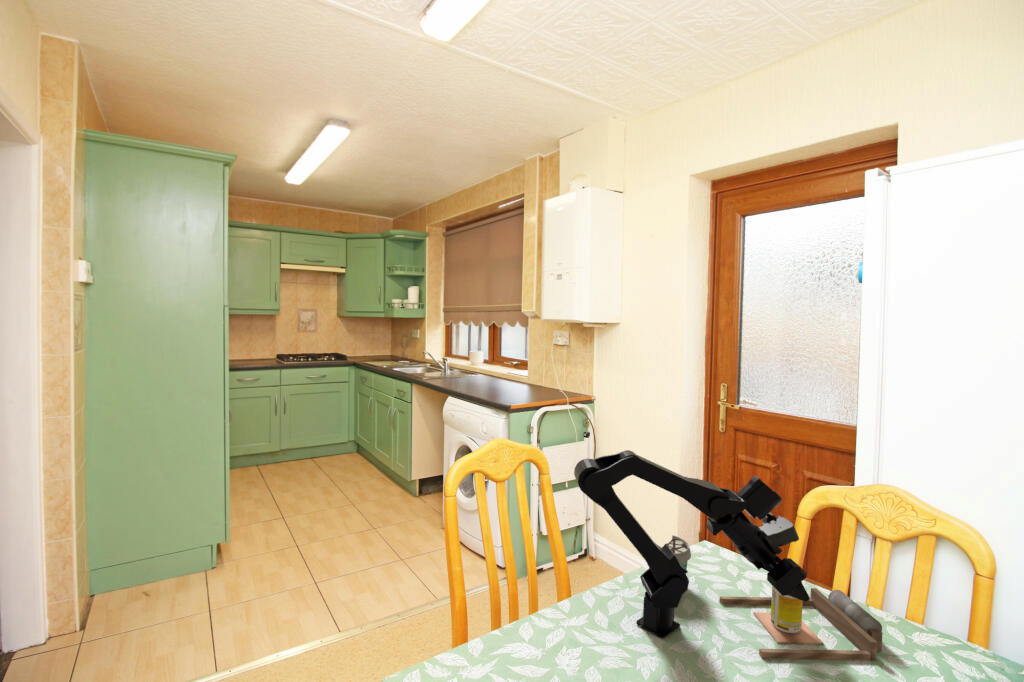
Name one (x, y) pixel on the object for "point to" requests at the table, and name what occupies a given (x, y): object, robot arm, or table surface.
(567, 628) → the table surface
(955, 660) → the table surface
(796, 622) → the supplement bottle
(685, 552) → the food container
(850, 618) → the frame
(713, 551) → the table surface
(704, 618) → the table surface
